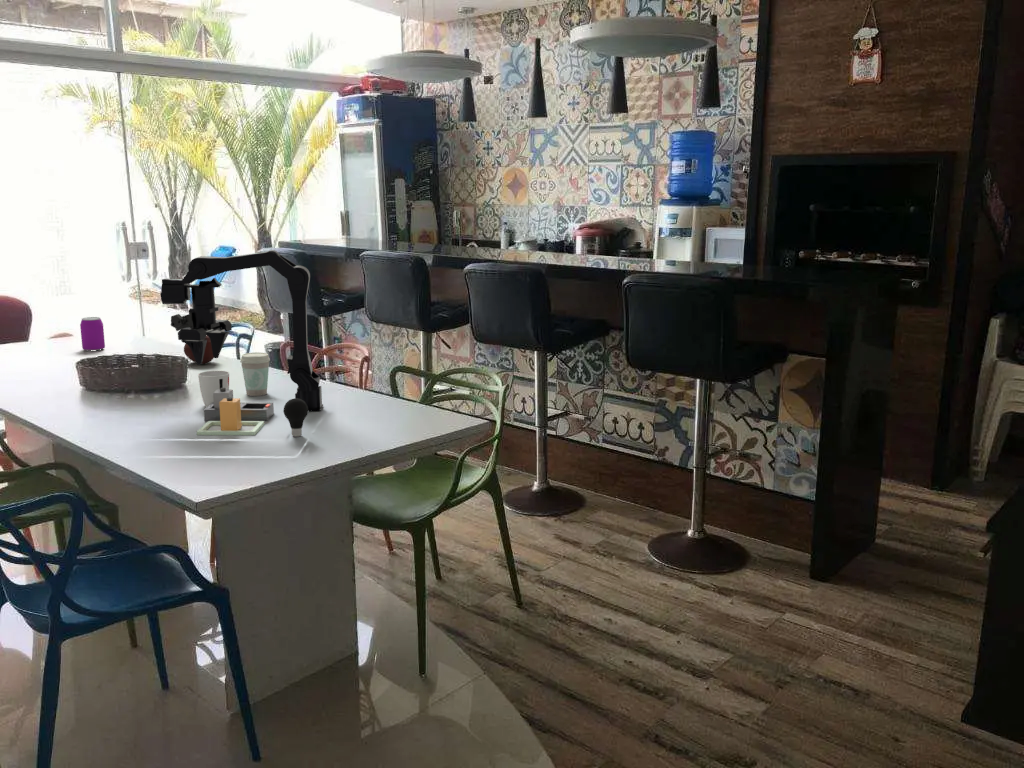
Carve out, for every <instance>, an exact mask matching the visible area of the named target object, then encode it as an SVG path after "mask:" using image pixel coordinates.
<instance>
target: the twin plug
mask: <svg viewBox="0 0 1024 768" xmlns="http://www.w3.org/2000/svg"><path fill="white" fill-rule="evenodd" d="M228 397H232V398H234V389H229V390H226V388H220V389H217V390H216V391H215V392H214V393H213V400H214V409H220V405H219V402H220V401H221V400H223V399H224V398H228Z"/></svg>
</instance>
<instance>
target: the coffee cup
mask: <svg viewBox="0 0 1024 768" xmlns="http://www.w3.org/2000/svg"><path fill="white" fill-rule="evenodd" d="M270 362H271V359H270V357H269V354H268V353H267V352H259V351H258V352H257V351H256V352H247V353H246V352H245V353H243V354H242V355H241V358H240V363H241V369H242V374H243V379H244V380H243V381H244V387H245V391H246V392H245V393H246V395H247V396H251V397H260V396H266V395H267V394H268V383H269V369H270V368H269V367H270Z"/></svg>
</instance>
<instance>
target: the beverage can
mask: <svg viewBox="0 0 1024 768" xmlns="http://www.w3.org/2000/svg"><path fill="white" fill-rule="evenodd" d="M79 327H80V329H79V330H80V337H81V347H82V350H83V351H85V352H92V351H91V350H100V349H103V348H104V349H105V348H106V344H105V331H104V323H103V321H102V319H101V317H99V316H95V317H94V316H86V317H82V318H81V320H80V324H79ZM104 349H103V350H104Z"/></svg>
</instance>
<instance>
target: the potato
mask: <svg viewBox="0 0 1024 768" xmlns="http://www.w3.org/2000/svg"><path fill="white" fill-rule="evenodd" d="M205 339H206V340H207V343H206V347H205V352H204V356H203V361H202V364H201V365H206V364H209V363H211V362H212V360H214V359H215V358H214V357H213V352H212V347H211V341H210V338H209V337H208V336H207V335H206V338H205ZM183 353H184V355H185V356H186V357H187V358H188V359H189V360H191V361H192V362H193V363H196V360H195V358H194V356H193V353H192V351H191V349H190V347H189V346H188V345H187V344H186V343H184V346H183Z"/></svg>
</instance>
